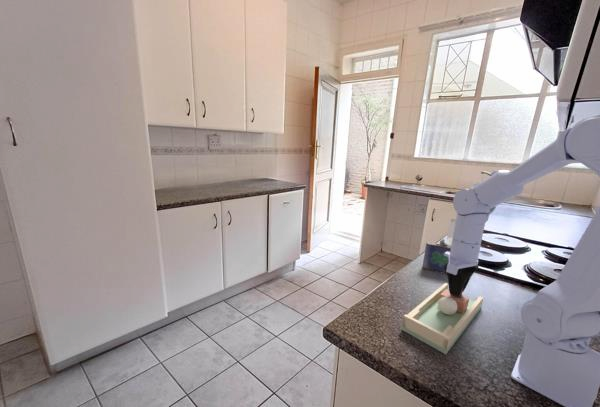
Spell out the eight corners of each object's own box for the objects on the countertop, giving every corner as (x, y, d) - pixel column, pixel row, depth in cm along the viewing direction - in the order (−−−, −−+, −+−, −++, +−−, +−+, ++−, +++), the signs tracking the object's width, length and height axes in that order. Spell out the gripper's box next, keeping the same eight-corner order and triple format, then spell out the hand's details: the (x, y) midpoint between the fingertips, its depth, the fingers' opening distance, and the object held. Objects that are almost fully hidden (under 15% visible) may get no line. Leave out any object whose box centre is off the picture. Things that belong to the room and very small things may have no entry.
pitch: (481, 307, 67) (483, 295, 66) (445, 354, 51) (448, 338, 50) (443, 292, 74) (445, 281, 73) (401, 329, 58) (403, 315, 57)
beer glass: (468, 267, 90) (477, 225, 87) (446, 265, 91) (453, 223, 88) (460, 259, 97) (468, 220, 93) (440, 257, 98) (447, 218, 95)
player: (467, 307, 65) (472, 280, 63) (462, 313, 62) (467, 286, 61) (445, 297, 69) (449, 272, 67) (438, 303, 66) (443, 277, 64)
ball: (461, 301, 62) (457, 300, 59) (456, 318, 62) (452, 318, 59) (443, 294, 65) (438, 293, 62) (438, 309, 65) (433, 309, 62)
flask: (421, 268, 88) (426, 238, 85) (422, 265, 90) (427, 235, 88) (453, 276, 84) (459, 244, 81) (453, 272, 86) (459, 241, 84)
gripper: (458, 230, 70) (449, 277, 73) (436, 241, 60) (427, 295, 63) (490, 237, 65) (479, 287, 68) (471, 251, 55) (460, 309, 58)
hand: (456, 292), depth 65 cm, fingers closed on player, 2 cm apart
